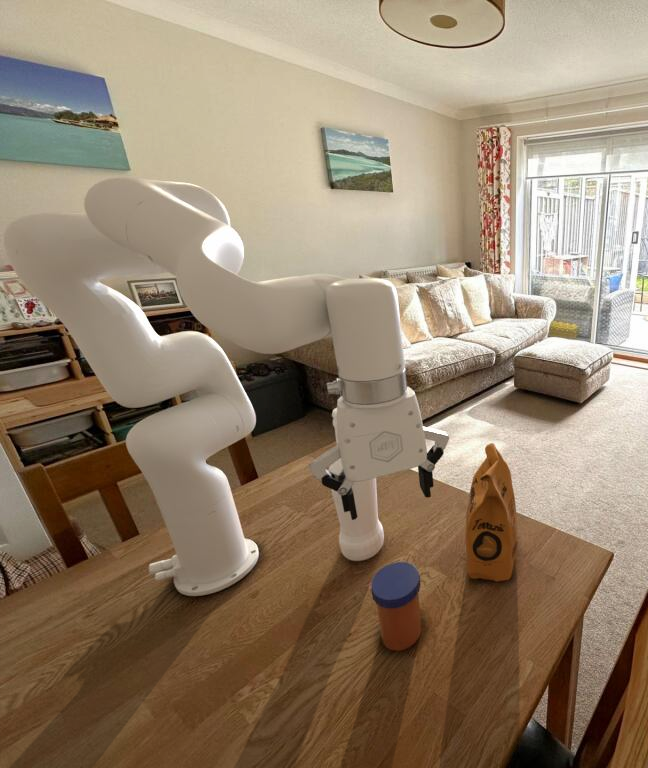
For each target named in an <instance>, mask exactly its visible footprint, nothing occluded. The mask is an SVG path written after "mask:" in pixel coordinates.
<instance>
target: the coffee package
mask: <svg viewBox="0 0 648 768" xmlns="http://www.w3.org/2000/svg"><path fill="white" fill-rule="evenodd" d="M484 453H485V456H486V458H485V459H484V460H483V461H482V463H481V464H480V466H479V467H478V468H477V470H476V471H475V473H474V474H473V476H472V481H471V485H470V491H469V495H468V501H467V506H466V507H467V508H466V514H465V516H466V517H465V535H464V536H465V537H464V538H465V547H466V560H467V567H466V570H467V571H466V572H467V574H468V576H469V577H470V578H471V579H474V580H477V579H483V580H486V581H487V580H490V581H494V582H496V583H498V582H503V581H508V580H510V579H511V577H512V573H513V569H514V566H515V565H514V564H515V559H516V558H517V555H518V518H517V517H518V515H517V506H516V498H515V492H514V491H515V490H514V486H513V478H512V472H511V469H510V467H509V466H508V464H507V461H505V459H504V458H503V456H502V454H501V453H500V451H499V450H498V448H497V447H496V445H495V444H494V443H493V442H491V443H488V444H487V445H485V448H484Z"/></svg>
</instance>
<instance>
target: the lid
mask: <svg viewBox="0 0 648 768" xmlns="http://www.w3.org/2000/svg"><path fill="white" fill-rule="evenodd" d="M370 588H371V589H370V590H371V596H372V600H373V601H374V602H375V604H376V605H377V604H378V605H379V606H381V607H384V608H389V609H393V608H399V607H402V606H404V605H406V604H408V603H409V602H411V601H412V600H413V599H414V598H415V597H416V595H417V593H418V594H419V592H420V589H421V576H420V572H419V570H418V569H417V567H416V566H415V565H414V564H412V563H409V562H407V561H406V562H405V561H396V562H392V563H389V564H387V565H385V566H383V567H382V568H380V569H379V570H378V571H377V572H376V573H375V574H374V575H373V578H372V581H371V587H370Z"/></svg>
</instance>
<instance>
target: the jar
mask: <svg viewBox="0 0 648 768" xmlns="http://www.w3.org/2000/svg"><path fill="white" fill-rule="evenodd" d="M376 609H377V616H378V622H379V623H378V624H379V631H380V637H381V642H382V644H383V645H384V646H385V648H387V649H388V650H390V651H395V652H396V651H399V652H400V651H403V650H406V649H408V648H410V647H412V646H413V645H414V644H415V643H416V642H417V641H418V639H419V637H420V636H421V632H422V622H421V610H420V609H421V608H420V597H419V592H418V593H417V595H416V597H415V598H414V599H413V600H412V601H411V602H409V603H408V604H406V605H404V606H402V607H399V608H393V609H389V608H384V607H381V606H379V605H378V604H376Z"/></svg>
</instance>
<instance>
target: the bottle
mask: <svg viewBox="0 0 648 768" xmlns="http://www.w3.org/2000/svg"><path fill="white" fill-rule="evenodd" d="M331 417H332V426H333V427H334V436H335V442H336V445H337V444H338V443H339V442H338V432H337V407H335V408H333V410H332V413H331ZM342 469H343V466H342V462H341V458H340V459H338V460H337V461H336V462H334V463H333V464H331V465H330V466H328V469H327V470H328V471H330V472H332V473H334V474H336V475H339V474H340V472H341V471H342ZM330 490H331V494H332V498H333V502H334V506H335V511H336V514H337V519H338V522H339V526H340V527H339V528H340V530H339V534H338V544H339V549H340V552H341V554H342V556H343V557H345V558H346V559H347V560H349V561H353V562H361V561H366V560H369V559H371V558H373V557H374V556H376V555H377V554H378V553H379V552H380V551H381V549H382V548H383V545H384V539H385V533H384V527H383V525H382V523H381V521H380V520H379V515H378V514H379V513H378V512H379V511H378V510H379V509H378V493H377V478H374V479H370V480H366V481H361V482H355V483H354V484H353V485H352V490H353V494H354V500H355V506H356V511H357V517H358V518H356V519H355V520H352V518H351V514H350V511H348V512H344V509H343V503H342V498H341V495H339V494H338V492H337V491H335V490H332V489H330Z"/></svg>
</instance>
